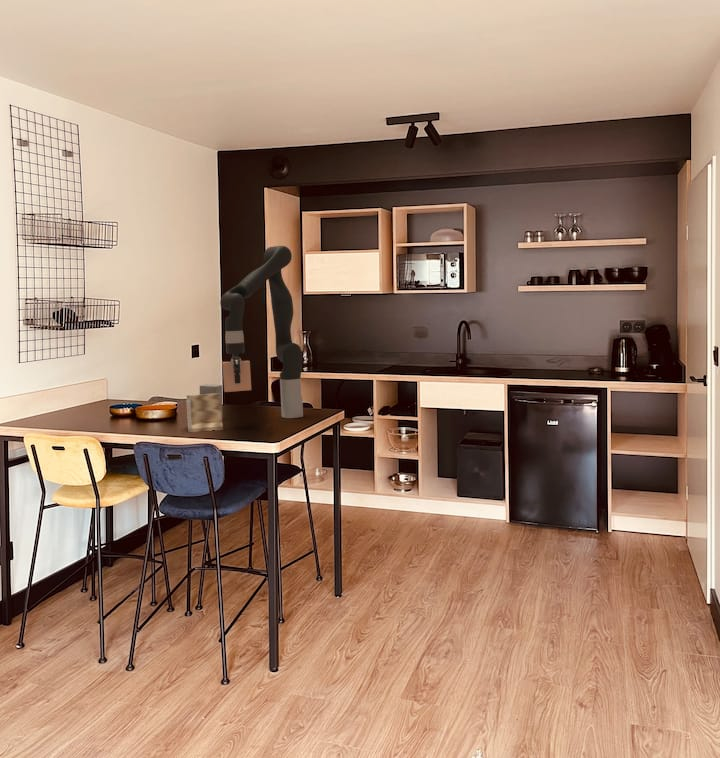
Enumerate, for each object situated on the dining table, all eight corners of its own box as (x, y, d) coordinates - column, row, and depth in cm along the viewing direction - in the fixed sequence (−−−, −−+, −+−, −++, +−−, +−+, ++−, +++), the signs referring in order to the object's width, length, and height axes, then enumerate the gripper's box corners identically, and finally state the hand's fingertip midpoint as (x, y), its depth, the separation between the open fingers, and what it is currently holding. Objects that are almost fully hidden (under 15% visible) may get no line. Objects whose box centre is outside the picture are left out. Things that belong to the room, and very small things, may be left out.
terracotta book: (250, 388, 314) (249, 360, 312) (251, 390, 310) (249, 361, 308) (224, 390, 312) (222, 362, 310) (224, 392, 307) (222, 363, 306)
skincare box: (199, 421, 329) (197, 385, 327) (207, 418, 335) (205, 383, 333) (216, 421, 326) (214, 386, 324) (224, 418, 333) (222, 383, 331)
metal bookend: (192, 423, 315) (190, 397, 313) (191, 428, 304) (190, 401, 302) (188, 423, 314) (186, 398, 313) (188, 428, 303) (186, 402, 302)
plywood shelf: (222, 424, 319) (220, 393, 317) (223, 429, 306) (221, 397, 305) (188, 426, 316) (186, 395, 314) (188, 432, 303) (186, 399, 302)
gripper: (245, 342, 302) (247, 384, 304) (242, 340, 316) (245, 379, 318) (226, 343, 300) (229, 385, 303) (225, 341, 314) (227, 381, 316)
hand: (237, 382), depth 310 cm, fingers closed on terracotta book, 4 cm apart
